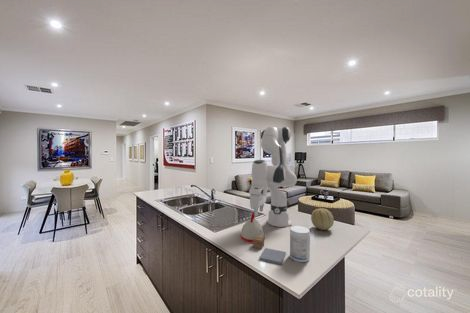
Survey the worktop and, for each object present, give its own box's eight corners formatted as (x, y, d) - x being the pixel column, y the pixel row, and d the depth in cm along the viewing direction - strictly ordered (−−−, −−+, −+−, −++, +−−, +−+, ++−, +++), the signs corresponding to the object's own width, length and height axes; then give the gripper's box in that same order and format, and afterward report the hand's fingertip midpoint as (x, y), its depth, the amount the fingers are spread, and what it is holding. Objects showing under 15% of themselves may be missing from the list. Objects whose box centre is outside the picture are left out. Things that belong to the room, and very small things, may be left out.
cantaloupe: (331, 235, 130) (331, 212, 130) (308, 229, 139) (308, 208, 139) (335, 228, 142) (336, 207, 142) (314, 223, 151) (314, 204, 151)
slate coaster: (265, 250, 109) (265, 247, 109) (285, 254, 105) (285, 251, 105) (259, 259, 99) (259, 257, 99) (281, 264, 95) (281, 262, 95)
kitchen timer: (264, 234, 130) (265, 211, 130) (261, 243, 117) (262, 218, 117) (243, 232, 134) (244, 209, 134) (238, 240, 120) (239, 216, 120)
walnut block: (255, 244, 117) (255, 235, 117) (264, 245, 115) (264, 237, 115) (252, 247, 112) (253, 238, 112) (261, 249, 110) (261, 240, 110)
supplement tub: (295, 251, 108) (295, 224, 108) (312, 257, 102) (313, 229, 101) (286, 258, 101) (286, 229, 101) (304, 265, 95) (305, 234, 94)
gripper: (259, 185, 124) (258, 208, 124) (247, 191, 105) (247, 217, 105) (269, 186, 121) (268, 209, 121) (259, 192, 102) (259, 219, 102)
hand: (258, 213), depth 113 cm, fingers open, 8 cm apart
